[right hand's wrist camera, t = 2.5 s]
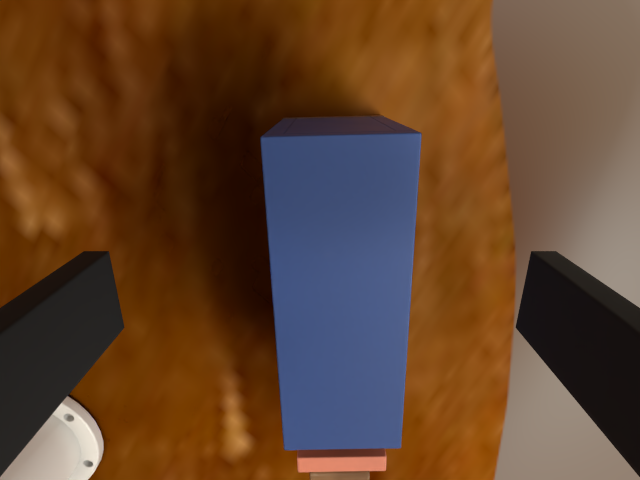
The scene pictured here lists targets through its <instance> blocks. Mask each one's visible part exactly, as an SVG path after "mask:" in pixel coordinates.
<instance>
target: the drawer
mask: <svg viewBox="0 0 640 480" xmlns="http://www.w3.org/2000/svg"><path fill="white" fill-rule="evenodd" d="M297 465H298V472H310V480H370V475H369V471H385V470H386V452H385V448H380V449H323V450H298V451H297Z"/></svg>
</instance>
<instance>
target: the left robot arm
mask: <svg viewBox="0 0 640 480" xmlns="http://www.w3.org/2000/svg"><path fill="white" fill-rule="evenodd" d="M102 455H103V438H102V435H101V431H100V429H99V427H98V425H97V424H96V422H95V420H94V419H93V418H92V416H91V415H90V414H89V413H88V412H87V411H86V410H85V409H84V408H83V407H82V406H81V405H80V404H79V403H77V402H76V401H74V400H73V399H71V398H70V397H68V396H67V397H66V398H65V400H64V401H63V402H62V403H61V404H60V406H59V407H58V408H57V409H56V410H55V412H54V413H53V414H52V415H51V416H50V418H49V419H48V420H47V421H46V422H45V424H44V425H43V426H42V427H41V428H40V430H39V431H38V432H37V433H36V434H35V436H34V437H33V438H32V439H31V441H30V442H29V443H28V444H27V445H26V447H25V448H24V449H23V450H22V451H21V453H20V454H19V455H18V456H17V457H16V459H15V460H14V461H13V462H12V463H11V465H10V466H9V467H8V468H7V469H6V471H5V472H4V473H3V474H2V475H1V477H0V480H88V479H89V478H90V477H91V475H92V474H93V473H94V472H95V470H96V468H97V466H98V464H99V463H100V461H101V458H102Z"/></svg>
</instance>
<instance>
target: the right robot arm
mask: <svg viewBox="0 0 640 480" xmlns="http://www.w3.org/2000/svg"><path fill="white" fill-rule="evenodd" d="M123 328H124V324H123V319H122V314H121V309H120V304H119V299H118V294H117V289H116V285H115V280H114V275H113V270H112V265H111V260H110V255H109V251H84V252H82V253H81V254H79V255H78V256H76V257H75V258H73V259H72V260H71V261H69V262H68V263H66V264H65V265H63V266H62V267H60V268H59V269H57V270H56V271H54V272H53V273H51V274H50V275H48V276H47V277H45V278H44V279H42V280H41V281H40V282H38V283H37V284H35V285H34V286H32V287H31V288H29V289H28V290H26V291H25V292H23V293H22V294H20V295H19V296H17V297H16V298H14V299H13V300H12V301H10V302H9V303H7V304H6V305H4V306H3V307H1V308H0V477H1V475H2V474H3V473H4V472H5V471H6V469H7V468H8V467H9V466H10V465H11V463H12V462H13V461H14V460H15V459H16V457H17V456H18V455H19V454H20V453H21V451H22V450H23V449H24V448H25V447H26V445H27V444H28V443H29V442H30V441H31V439H32V438H33V437H34V436H35V434H36V433H37V432H38V431H39V430H40V428H41V427H42V426H43V425H44V424H45V422H46V421H47V420H48V419H49V418H50V416H51V415H52V414H53V413H54V412H55V410H56V409H57V408H58V407H59V406H60V404H61V403H62V402H63V401H64V400H65V398H66V397H67V396H68V395H69V394H70V392H71V391H72V390H73V389H74V387H75V386H76V385H77V384H78V383H79V381H80V380H81V379H82V378H83V377H84V375H85V374H86V373H87V372H88V371H89V369H90V368H91V367H92V366H93V365H94V363H95V362H96V361H97V360H98V359H99V357H100V356H101V355H102V354H103V353H104V351H105V350H106V349H107V348H108V346H109V345H110V344H111V343H112V342H113V340H114V339H115V338H116V337H117V336H118V334H119V333H120V332H121V331H122V330H123ZM516 328H517V330H518V331H519V332H520V333H521V334H522V336H523V337H524V338H525V339H526V340H527V342H528V343H529V344H530V345H531V346H532V348H533V349H534V350H535V351H536V352H537V354H538V355H539V356H540V357H541V359H542V360H543V361H544V362H545V363H546V365H547V366H548V367H549V368H550V369H551V371H552V372H553V373H554V374H555V375H556V377H557V378H558V379H559V380H560V381H561V383H562V384H563V385H564V386H565V387H566V389H567V390H568V391H569V392H570V394H571V395H572V396H573V397H574V398H575V400H576V401H577V402H578V403H579V404H580V406H581V407H582V408H583V409H584V410H585V412H586V413H587V414H588V415H589V416H590V418H591V419H592V420H593V421H594V422H595V424H596V425H597V426H598V427H599V428H600V430H601V431H602V432H603V433H604V434H605V436H606V437H607V438H608V439H609V441H610V442H611V443H612V444H613V445H614V447H615V448H616V449H617V450H618V451H619V453H620V454H621V455H622V456H623V457H624V459H625V460H626V461H627V462H628V463H629V465H630V466H631V467H632V468H633V469H634V471H635V472H636V473H637V474H638V475H639V477H640V308H639V307H637V306H636V305H634V304H633V303H631V302H630V301H628V300H627V299H626V298H624V297H623V296H621V295H620V294H618V293H617V292H615V291H614V290H612V289H611V288H609V287H608V286H606V285H605V284H603V283H602V282H600V281H599V280H598V279H596V278H595V277H593V276H592V275H590V274H589V273H587V272H586V271H584V270H583V269H581V268H580V267H578V266H577V265H575V264H574V263H572V262H571V261H569V260H568V259H566V258H565V257H564V256H562V255H561V254H559V253H558V252H556V251H532V252H531V255H530V260H529V265H528V270H527V275H526V280H525V285H524V289H523V294H522V299H521V304H520V309H519V314H518V319H517V324H516Z"/></svg>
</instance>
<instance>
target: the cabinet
mask: <svg viewBox="0 0 640 480" xmlns="http://www.w3.org/2000/svg"><path fill="white" fill-rule="evenodd" d="M260 142H261V155H262V168H263V181H264V194H265V207H266V220H267V233H268V246H269V259H270V272H271V285H272V299H273V312H274V325H275V338H276V351H277V364H278V377H279V390H280V403H281V416H282V429H283V442H284V450H323V449H380V448H401V437H402V422H403V407H404V391H405V376H406V361H407V346H408V331H409V316H410V300H411V285H412V270H413V255H414V240H415V225H416V210H417V194H418V179H419V164H420V149H421V133H420V132H418V131H415V130H413V129H411V128H409V127H406V126H404V125H402V124H399V123H397V122H395V121H392V120H390V119H388V118H386V117H384V116H382V115H370V116H331V117H292V118H283V119H282V120H281V121H280V122H279V123H277V124H276V125H275V126H274V127H272V128H271V129H270V130H269V131H267V132H266V133H265V134H264V135H263V136H261V138H260Z"/></svg>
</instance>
